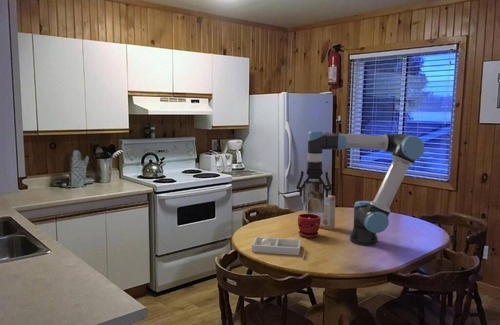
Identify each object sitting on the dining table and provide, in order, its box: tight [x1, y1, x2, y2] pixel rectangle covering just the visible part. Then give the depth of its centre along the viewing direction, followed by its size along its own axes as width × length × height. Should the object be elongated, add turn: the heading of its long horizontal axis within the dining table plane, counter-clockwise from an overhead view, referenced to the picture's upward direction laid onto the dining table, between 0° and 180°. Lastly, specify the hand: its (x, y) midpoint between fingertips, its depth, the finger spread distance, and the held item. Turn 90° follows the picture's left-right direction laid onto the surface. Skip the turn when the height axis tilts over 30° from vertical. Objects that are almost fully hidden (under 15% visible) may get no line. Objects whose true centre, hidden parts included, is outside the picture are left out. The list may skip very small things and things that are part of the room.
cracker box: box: [311, 194, 336, 231], centre depth 261 cm, size 14×6×21 cm, turn 44°
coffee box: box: [303, 179, 325, 214], centre depth 218 cm, size 9×6×16 cm
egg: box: [261, 237, 271, 246], centre depth 222 cm, size 5×5×5 cm
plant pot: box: [297, 213, 321, 239], centre depth 246 cm, size 13×13×12 cm
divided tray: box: [251, 236, 302, 256], centre depth 221 cm, size 24×14×4 cm, turn 79°
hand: (313, 202), depth 218 cm, fingers closed on coffee box, 11 cm apart
